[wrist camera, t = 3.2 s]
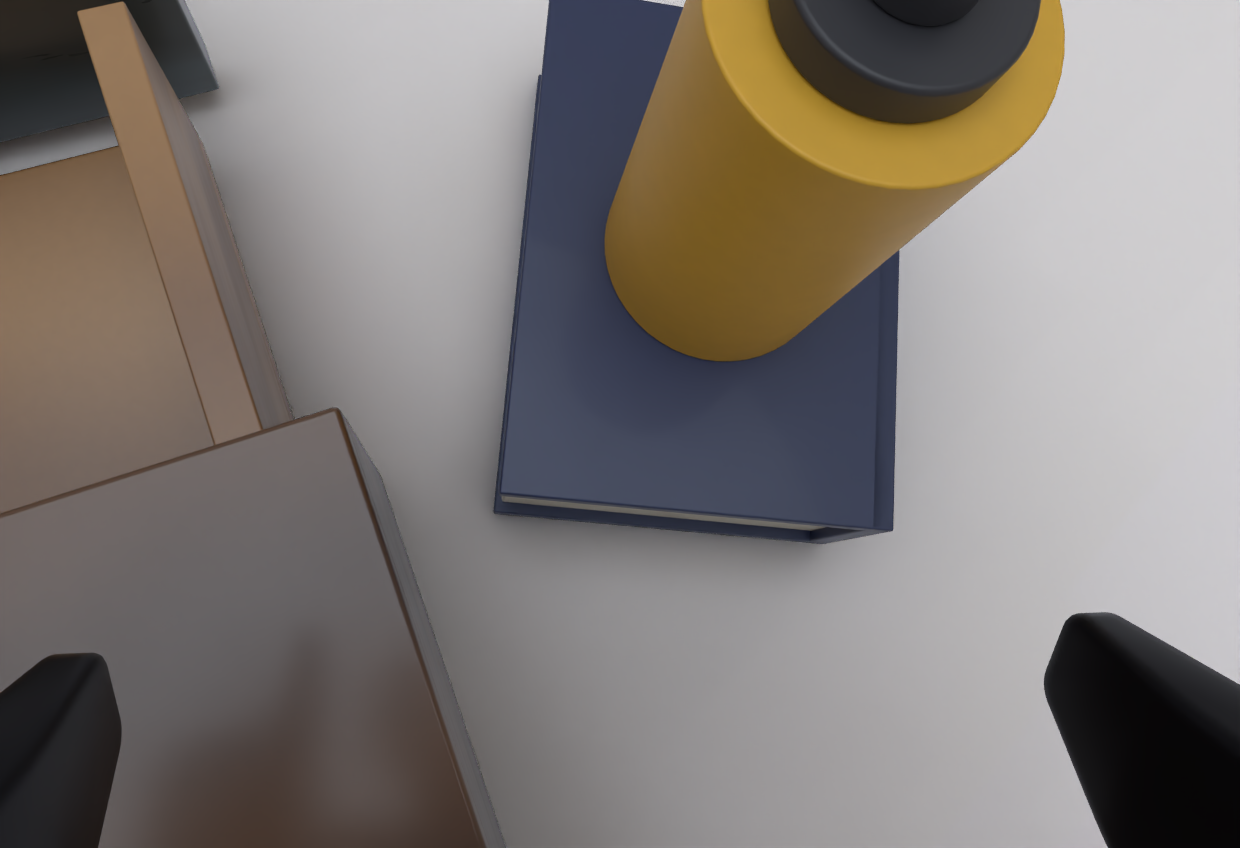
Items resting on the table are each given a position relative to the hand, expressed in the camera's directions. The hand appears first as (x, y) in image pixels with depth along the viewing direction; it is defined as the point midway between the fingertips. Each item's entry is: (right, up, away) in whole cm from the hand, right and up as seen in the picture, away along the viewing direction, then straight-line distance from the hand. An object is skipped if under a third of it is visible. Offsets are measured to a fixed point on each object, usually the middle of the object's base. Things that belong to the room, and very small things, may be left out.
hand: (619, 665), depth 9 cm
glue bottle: (+2, +6, +11) cm, 13 cm away
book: (+1, +5, +15) cm, 16 cm away
